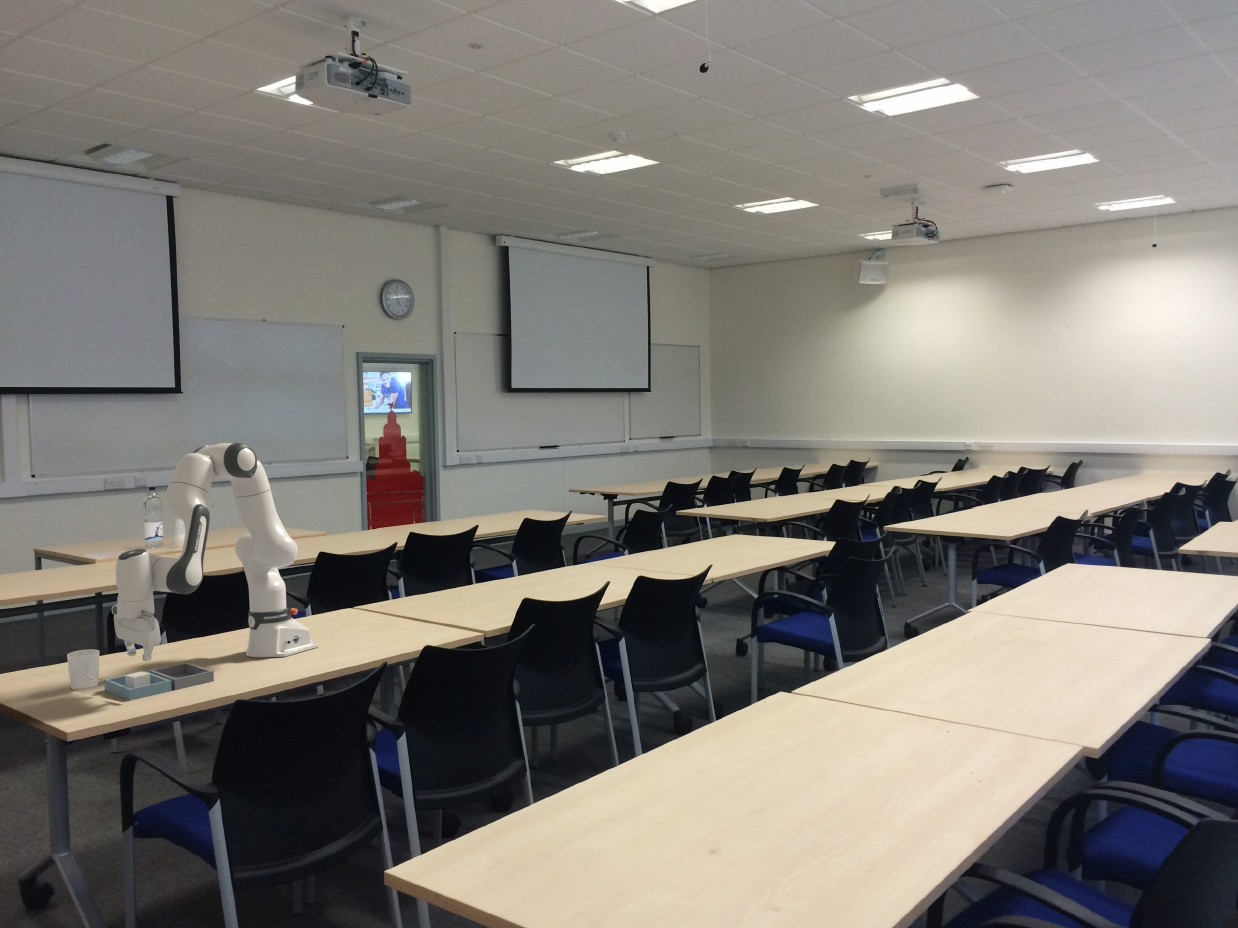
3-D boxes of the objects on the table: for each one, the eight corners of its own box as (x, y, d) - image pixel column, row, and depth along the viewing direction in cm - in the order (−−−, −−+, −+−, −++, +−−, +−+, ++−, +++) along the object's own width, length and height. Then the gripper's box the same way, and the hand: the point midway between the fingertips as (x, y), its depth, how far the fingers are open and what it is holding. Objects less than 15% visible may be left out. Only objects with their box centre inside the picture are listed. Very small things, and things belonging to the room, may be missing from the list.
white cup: (64, 692, 254) (63, 657, 254) (73, 684, 262) (72, 650, 261) (96, 689, 256) (94, 654, 256) (104, 682, 264) (102, 648, 263)
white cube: (141, 687, 256) (141, 671, 256) (150, 689, 254) (150, 673, 253) (125, 691, 252) (125, 675, 252) (134, 693, 250) (133, 677, 250)
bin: (145, 683, 262) (145, 671, 262) (171, 692, 252) (171, 680, 252) (105, 692, 254) (104, 679, 254) (129, 702, 244) (129, 689, 243)
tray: (187, 673, 272) (187, 662, 271) (214, 682, 261) (213, 670, 261) (149, 682, 263) (149, 670, 263) (175, 691, 253) (174, 679, 253)
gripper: (165, 611, 248) (168, 661, 249) (132, 602, 261) (135, 650, 262) (141, 615, 243) (144, 666, 244) (108, 606, 256) (112, 655, 257)
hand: (139, 658), depth 253 cm, fingers open, 8 cm apart
